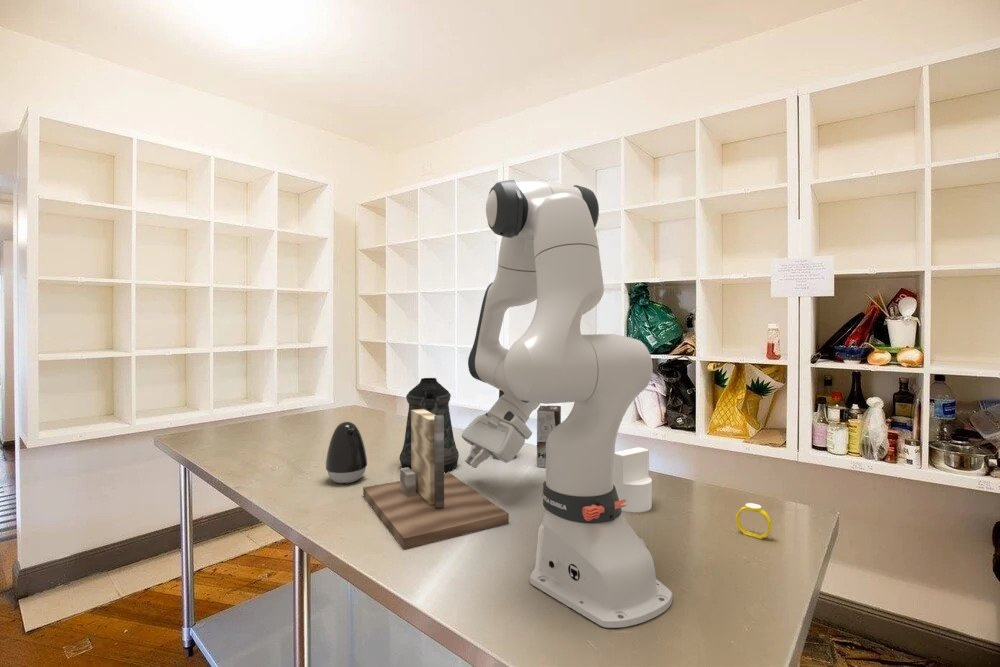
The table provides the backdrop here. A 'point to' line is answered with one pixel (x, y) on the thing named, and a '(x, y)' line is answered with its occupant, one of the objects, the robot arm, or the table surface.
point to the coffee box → (545, 429)
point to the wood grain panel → (428, 455)
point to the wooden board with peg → (431, 510)
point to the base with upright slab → (633, 479)
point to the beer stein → (436, 402)
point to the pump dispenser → (346, 454)
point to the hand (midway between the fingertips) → (469, 464)
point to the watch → (753, 508)
